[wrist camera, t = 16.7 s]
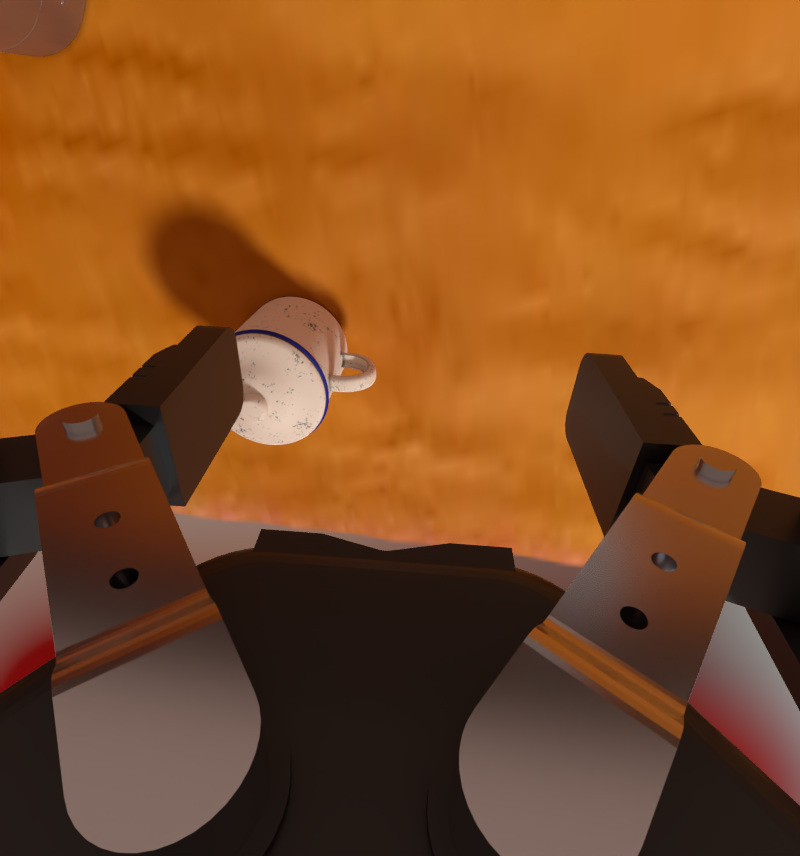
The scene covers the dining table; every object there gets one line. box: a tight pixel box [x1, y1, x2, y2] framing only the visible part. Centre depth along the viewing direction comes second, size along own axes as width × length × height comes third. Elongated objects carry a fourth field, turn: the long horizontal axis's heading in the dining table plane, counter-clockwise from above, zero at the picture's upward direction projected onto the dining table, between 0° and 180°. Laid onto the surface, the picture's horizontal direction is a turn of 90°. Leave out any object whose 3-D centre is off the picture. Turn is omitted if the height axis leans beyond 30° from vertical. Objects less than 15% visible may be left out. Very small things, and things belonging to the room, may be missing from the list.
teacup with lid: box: [231, 297, 376, 445], centre depth 38 cm, size 12×9×12 cm
